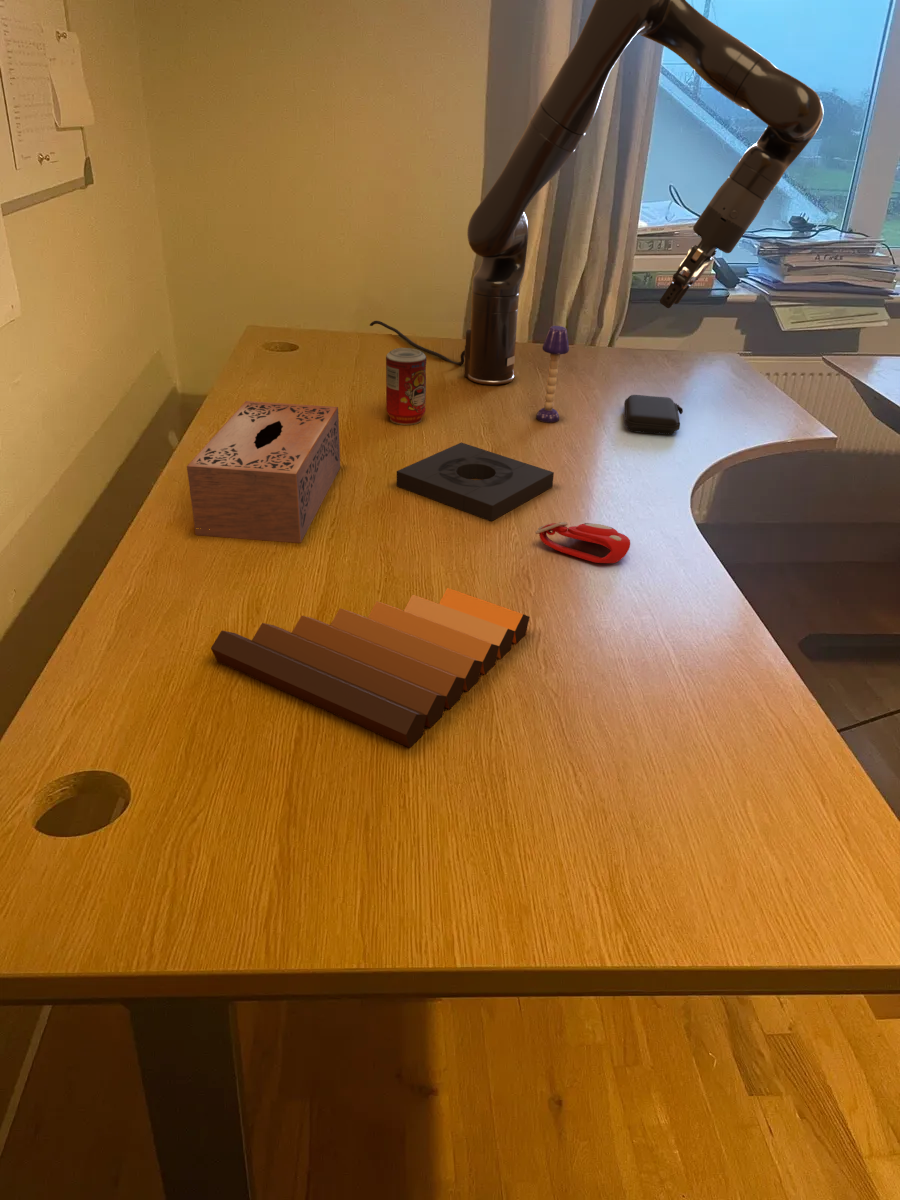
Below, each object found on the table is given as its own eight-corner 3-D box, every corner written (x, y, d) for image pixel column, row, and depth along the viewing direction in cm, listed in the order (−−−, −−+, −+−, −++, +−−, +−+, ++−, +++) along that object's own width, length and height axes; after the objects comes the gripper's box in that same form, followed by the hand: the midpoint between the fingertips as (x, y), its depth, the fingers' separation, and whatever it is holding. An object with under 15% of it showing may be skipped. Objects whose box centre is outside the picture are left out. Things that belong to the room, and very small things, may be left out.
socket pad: (396, 486, 136) (396, 471, 134) (460, 456, 147) (461, 442, 145) (491, 521, 126) (492, 505, 125) (552, 487, 137) (554, 472, 136)
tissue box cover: (251, 461, 142) (245, 400, 137) (340, 467, 141) (338, 407, 136) (195, 535, 120) (186, 466, 115) (300, 543, 119) (296, 473, 114)
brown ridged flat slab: (212, 664, 95) (405, 751, 84) (209, 638, 93) (405, 724, 82) (354, 570, 113) (528, 632, 102) (354, 546, 112) (530, 607, 101)
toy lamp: (565, 417, 164) (574, 326, 155) (556, 425, 160) (566, 332, 152) (540, 413, 166) (548, 322, 157) (531, 420, 162) (539, 328, 153)
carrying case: (684, 439, 156) (679, 411, 169) (687, 422, 155) (682, 395, 167) (623, 433, 158) (623, 406, 170) (626, 417, 156) (625, 391, 169)
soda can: (410, 429, 156) (410, 359, 150) (378, 420, 160) (377, 352, 153) (433, 418, 161) (434, 350, 155) (402, 410, 165) (402, 343, 158)
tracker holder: (604, 520, 125) (649, 534, 117) (599, 551, 126) (643, 567, 118) (531, 514, 120) (573, 529, 111) (526, 546, 121) (567, 563, 112)
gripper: (714, 203, 151) (657, 288, 159) (704, 201, 138) (642, 294, 147) (751, 228, 150) (691, 312, 158) (744, 228, 138) (679, 320, 146)
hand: (668, 303), depth 153 cm, fingers open, 8 cm apart
